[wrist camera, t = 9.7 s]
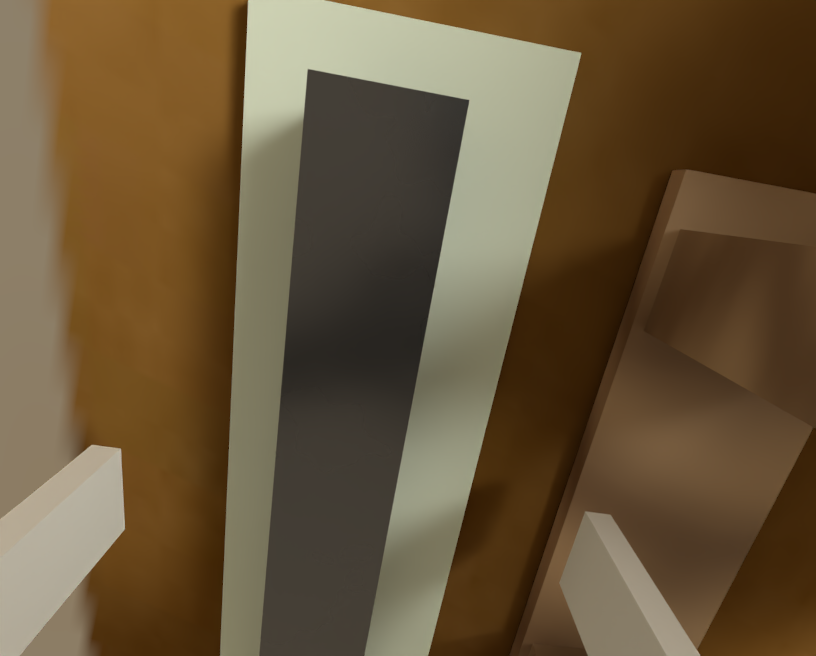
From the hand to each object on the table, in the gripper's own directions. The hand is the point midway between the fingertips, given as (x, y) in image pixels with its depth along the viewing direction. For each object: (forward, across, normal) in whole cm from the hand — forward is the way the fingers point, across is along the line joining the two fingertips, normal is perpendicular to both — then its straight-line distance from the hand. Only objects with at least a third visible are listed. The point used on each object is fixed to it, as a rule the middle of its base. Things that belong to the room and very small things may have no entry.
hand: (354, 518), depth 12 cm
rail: (+2, -1, 0) cm, 2 cm away
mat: (+2, 0, 0) cm, 3 cm away
